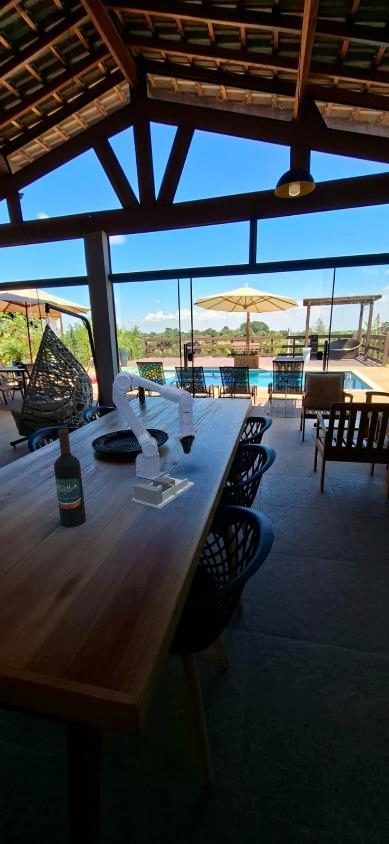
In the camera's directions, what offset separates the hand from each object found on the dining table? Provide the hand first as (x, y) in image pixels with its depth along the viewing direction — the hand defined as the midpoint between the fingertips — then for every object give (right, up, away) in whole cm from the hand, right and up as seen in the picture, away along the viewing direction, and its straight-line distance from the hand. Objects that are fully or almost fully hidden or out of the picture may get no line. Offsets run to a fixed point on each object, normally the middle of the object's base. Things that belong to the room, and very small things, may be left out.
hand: (187, 453), depth 151 cm
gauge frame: (-8, -13, -17) cm, 23 cm away
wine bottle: (-35, -19, -35) cm, 53 cm away
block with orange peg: (-8, -12, -19) cm, 24 cm away
